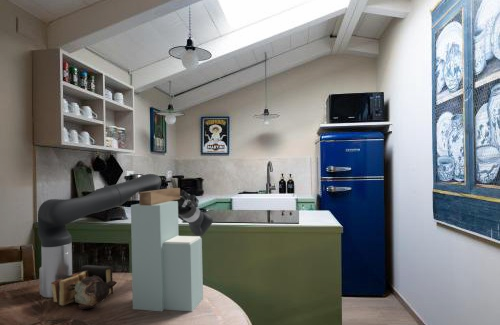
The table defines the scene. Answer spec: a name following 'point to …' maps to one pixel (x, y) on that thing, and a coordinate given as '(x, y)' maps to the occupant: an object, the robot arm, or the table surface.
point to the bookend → (84, 286)
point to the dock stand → (164, 260)
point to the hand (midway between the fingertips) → (170, 192)
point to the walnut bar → (159, 196)
